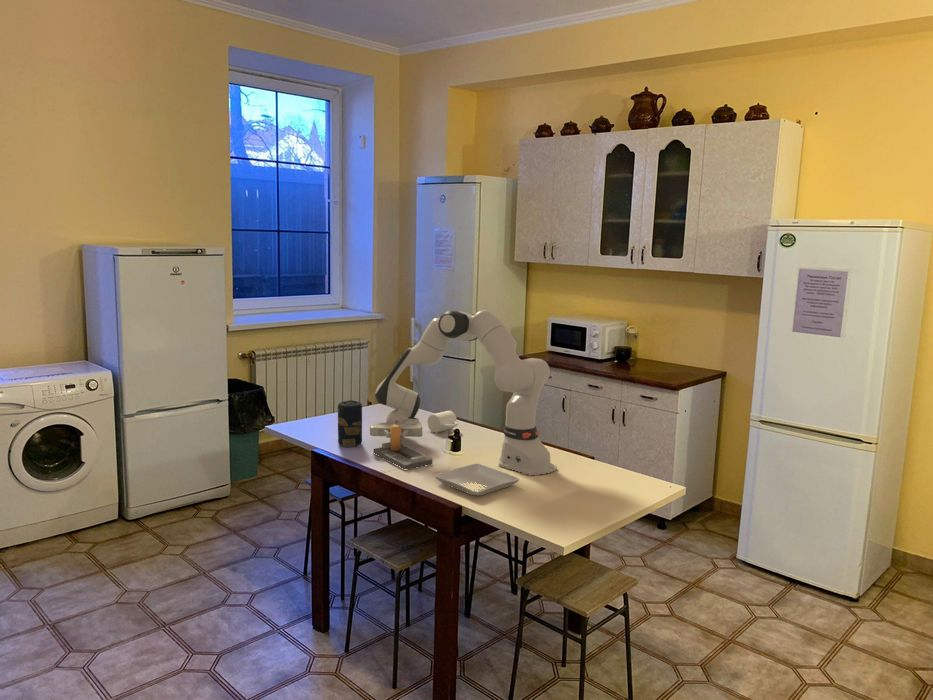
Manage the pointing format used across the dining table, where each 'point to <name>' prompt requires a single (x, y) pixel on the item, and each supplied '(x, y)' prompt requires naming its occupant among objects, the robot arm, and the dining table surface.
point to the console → (403, 456)
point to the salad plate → (477, 478)
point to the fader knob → (395, 437)
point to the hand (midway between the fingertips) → (395, 435)
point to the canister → (349, 423)
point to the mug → (442, 421)
